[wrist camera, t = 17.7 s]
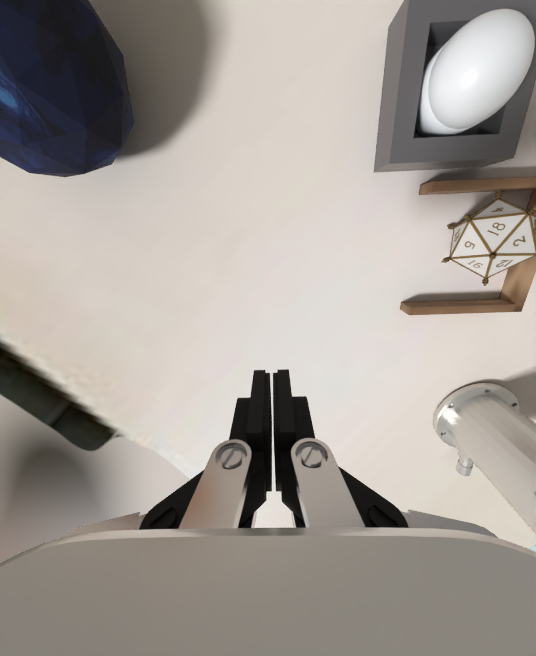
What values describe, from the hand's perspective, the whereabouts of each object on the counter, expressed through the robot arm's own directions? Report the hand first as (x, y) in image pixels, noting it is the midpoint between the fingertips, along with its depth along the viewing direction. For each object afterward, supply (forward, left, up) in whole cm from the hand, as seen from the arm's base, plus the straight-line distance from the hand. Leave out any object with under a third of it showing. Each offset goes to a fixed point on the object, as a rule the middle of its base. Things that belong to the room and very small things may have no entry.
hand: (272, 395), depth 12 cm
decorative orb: (+20, +19, -23) cm, 36 cm away
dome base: (+19, -18, -23) cm, 35 cm away
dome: (+19, -18, -22) cm, 34 cm away
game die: (+5, -24, -23) cm, 34 cm away
